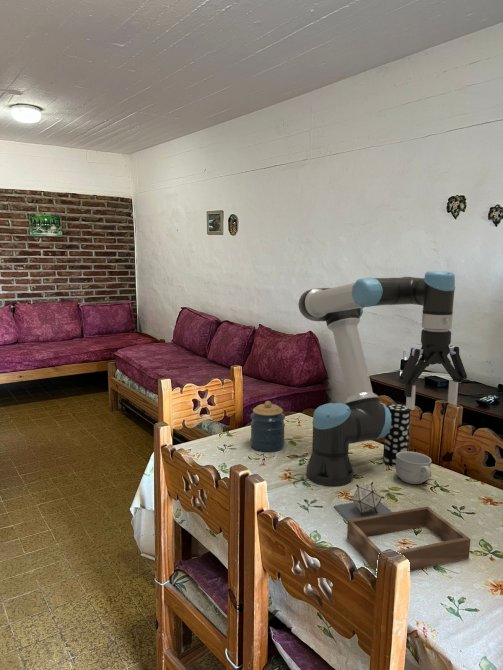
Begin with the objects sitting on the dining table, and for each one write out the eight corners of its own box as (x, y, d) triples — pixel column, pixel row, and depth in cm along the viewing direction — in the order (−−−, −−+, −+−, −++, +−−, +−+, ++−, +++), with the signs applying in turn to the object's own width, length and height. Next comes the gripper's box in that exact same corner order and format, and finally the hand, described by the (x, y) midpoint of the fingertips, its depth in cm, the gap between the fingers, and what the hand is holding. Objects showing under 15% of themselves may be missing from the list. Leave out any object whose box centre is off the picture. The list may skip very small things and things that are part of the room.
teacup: (389, 473, 163) (391, 450, 162) (421, 472, 164) (422, 449, 162) (406, 493, 149) (407, 468, 148) (440, 491, 150) (442, 467, 149)
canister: (246, 450, 181) (247, 404, 178) (254, 438, 193) (254, 395, 190) (281, 454, 178) (282, 407, 175) (287, 441, 190) (287, 397, 188)
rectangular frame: (346, 538, 125) (347, 520, 124) (426, 523, 132) (427, 506, 131) (381, 577, 110) (382, 557, 109) (468, 558, 117) (470, 539, 116)
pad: (334, 507, 140) (334, 505, 140) (376, 500, 145) (376, 498, 144) (354, 529, 129) (355, 527, 129) (400, 521, 133) (400, 519, 133)
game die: (371, 527, 136) (385, 511, 129) (343, 513, 137) (355, 497, 130) (377, 499, 142) (390, 483, 135) (349, 487, 143) (361, 470, 136)
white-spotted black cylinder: (381, 464, 169) (384, 409, 166) (384, 455, 177) (387, 402, 174) (406, 468, 166) (410, 412, 163) (408, 459, 174) (411, 405, 171)
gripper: (404, 333, 123) (400, 414, 127) (484, 329, 131) (478, 406, 134) (387, 329, 131) (384, 406, 134) (465, 325, 138) (459, 398, 141)
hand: (431, 406), depth 134 cm, fingers open, 13 cm apart
